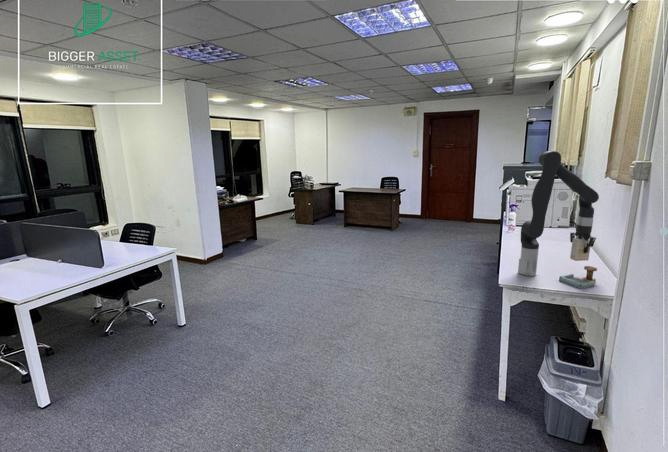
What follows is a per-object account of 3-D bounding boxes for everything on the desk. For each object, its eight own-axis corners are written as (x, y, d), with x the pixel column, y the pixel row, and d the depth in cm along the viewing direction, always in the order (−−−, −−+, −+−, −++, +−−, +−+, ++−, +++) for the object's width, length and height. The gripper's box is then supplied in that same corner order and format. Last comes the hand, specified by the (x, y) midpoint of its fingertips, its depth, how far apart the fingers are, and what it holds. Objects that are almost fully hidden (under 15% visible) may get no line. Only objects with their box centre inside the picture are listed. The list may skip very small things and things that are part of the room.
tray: (581, 288, 183) (581, 284, 182) (559, 280, 195) (559, 276, 195) (594, 286, 186) (594, 281, 185) (571, 278, 198) (572, 273, 197)
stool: (590, 283, 190) (592, 270, 188) (579, 279, 195) (581, 266, 194) (597, 281, 192) (599, 268, 190) (587, 278, 197) (589, 265, 195)
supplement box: (582, 258, 203) (585, 237, 200) (588, 260, 198) (592, 239, 195) (569, 258, 203) (572, 237, 200) (575, 260, 198) (578, 239, 195)
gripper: (568, 222, 201) (564, 249, 205) (592, 227, 188) (587, 255, 192) (577, 221, 203) (573, 247, 207) (601, 226, 190) (597, 254, 194)
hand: (580, 251), depth 199 cm, fingers closed on supplement box, 5 cm apart
